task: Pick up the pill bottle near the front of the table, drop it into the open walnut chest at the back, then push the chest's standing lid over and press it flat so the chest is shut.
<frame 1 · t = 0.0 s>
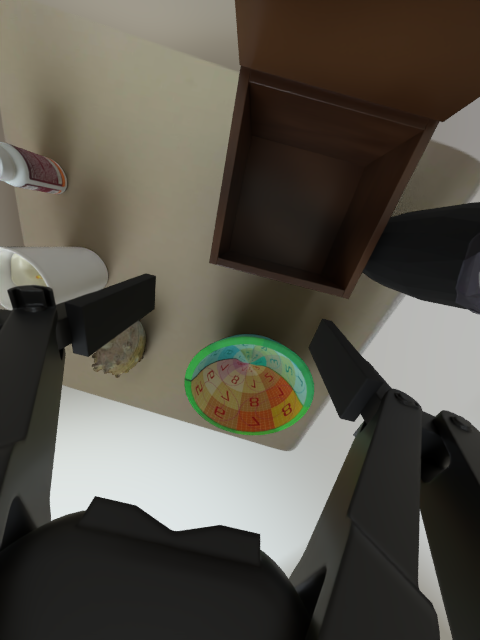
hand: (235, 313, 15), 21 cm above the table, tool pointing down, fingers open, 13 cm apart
portable speaker: (375, 247, 31), on the table
bowl: (249, 358, 42), on the table
seashell: (130, 336, 42), on the table
pill bottle: (54, 177, 30), on the table
chest: (289, 213, 30), on the table
candle holder: (88, 269, 36), on the table
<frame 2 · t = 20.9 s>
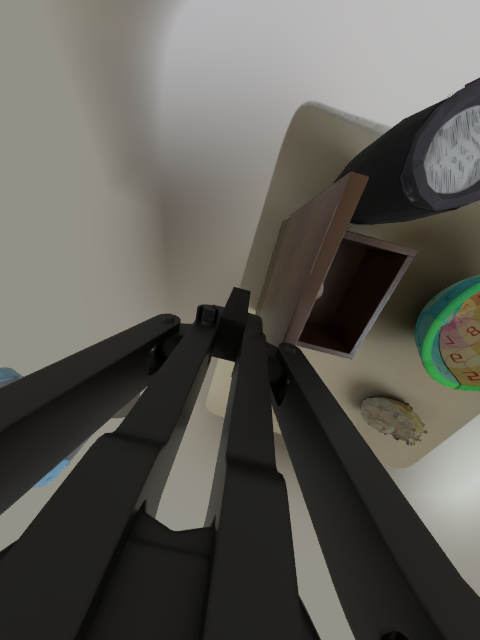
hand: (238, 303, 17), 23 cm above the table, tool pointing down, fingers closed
portable speaker: (351, 196, 32), on the table
bowl: (445, 311, 38), on the table
seashell: (381, 405, 49), on the table
lid: (275, 304, 19), point 20 cm above the table, hinge at 91.4°, touching gripper
chest: (308, 281, 38), on the table
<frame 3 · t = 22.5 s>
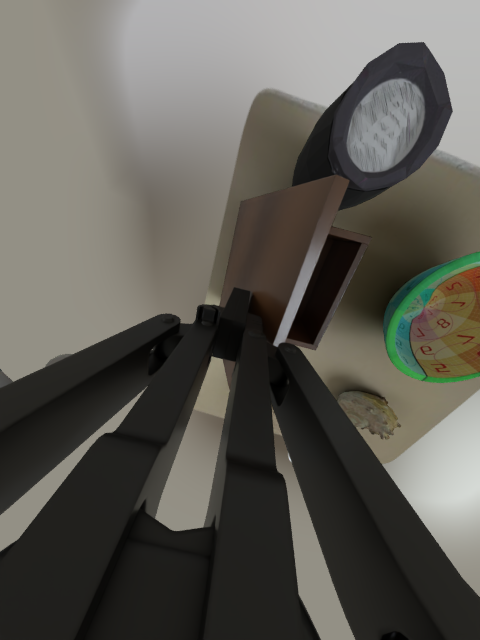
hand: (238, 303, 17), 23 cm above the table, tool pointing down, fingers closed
portable speaker: (315, 186, 31), on the table
bowl: (416, 304, 38), on the table
seashell: (359, 400, 49), on the table
lid: (243, 295, 19), point 20 cm above the table, hinge at 71.4°, touching gripper
chest: (277, 273, 37), on the table
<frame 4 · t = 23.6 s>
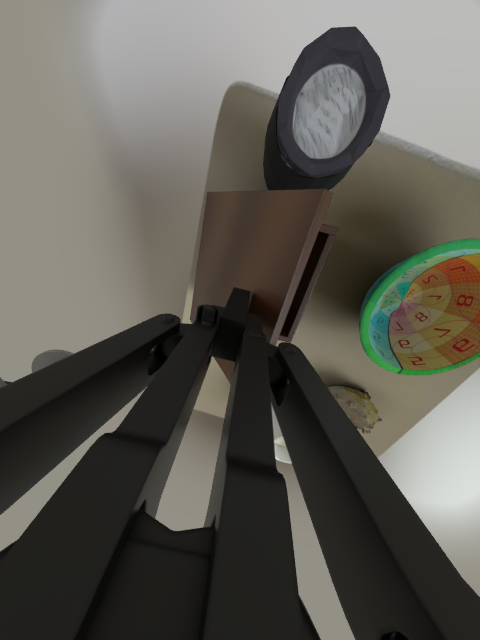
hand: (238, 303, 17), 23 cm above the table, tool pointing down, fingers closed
portable speaker: (290, 179, 31), on the table
bowl: (395, 297, 38), on the table
seashell: (342, 395, 49), on the table
lid: (227, 286, 21), point 19 cm above the table, hinge at 54.4°
chest: (257, 267, 38), on the table
candle holder: (284, 404, 52), on the table
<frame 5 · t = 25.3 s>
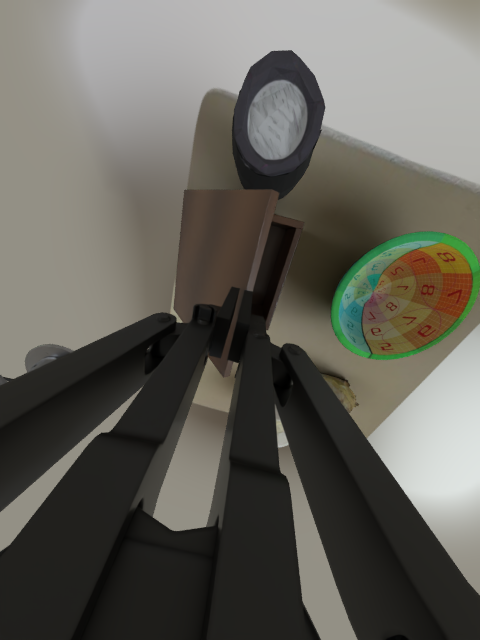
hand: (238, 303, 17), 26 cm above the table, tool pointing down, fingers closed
portable speaker: (265, 178, 34), on the table
bowl: (368, 289, 41), on the table
seashell: (324, 383, 52), on the table
lid: (204, 274, 23), point 18 cm above the table, hinge at 51.0°, touching gripper
chest: (238, 261, 40), on the table
candle holder: (270, 393, 55), on the table
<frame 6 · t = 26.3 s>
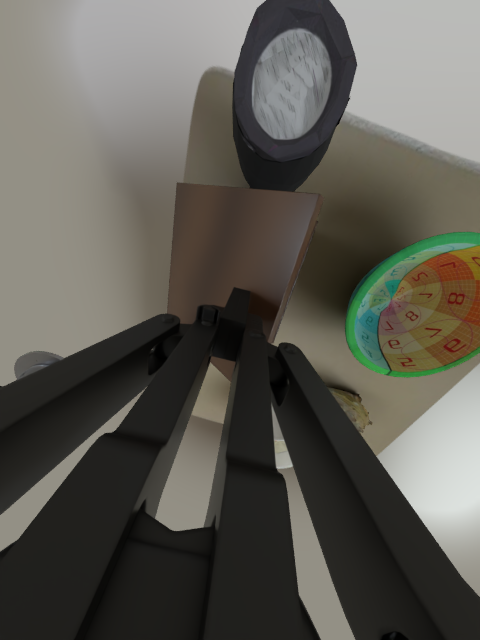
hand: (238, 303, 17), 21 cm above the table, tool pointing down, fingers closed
portable speaker: (271, 172, 30), on the table
bowl: (385, 296, 36), on the table
seashell: (333, 397, 48), on the table
lid: (212, 283, 21), point 17 cm above the table, hinge at 40.1°, touching gripper
candle holder: (274, 406, 51), on the table
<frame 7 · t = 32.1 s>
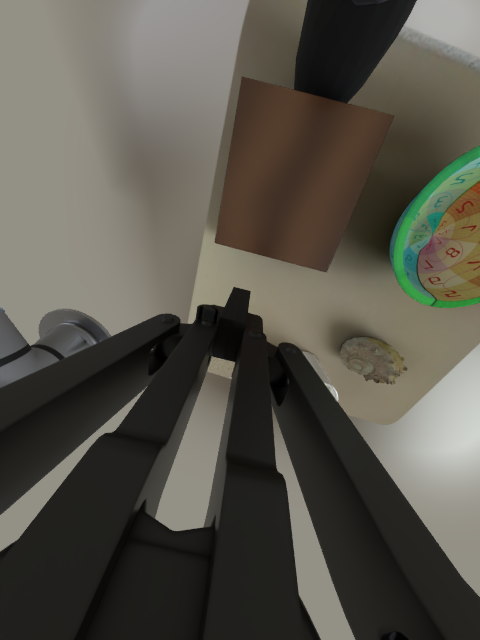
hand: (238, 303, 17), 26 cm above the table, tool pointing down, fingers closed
portable speaker: (318, 95, 30), on the table
bowl: (424, 234, 36), on the table
seashell: (363, 351, 47), on the table
lid: (290, 189, 25), point 12 cm above the table, hinge at 1.7°
candle holder: (301, 363, 51), on the table
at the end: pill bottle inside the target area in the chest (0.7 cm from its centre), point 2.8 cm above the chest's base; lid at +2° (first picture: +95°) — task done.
